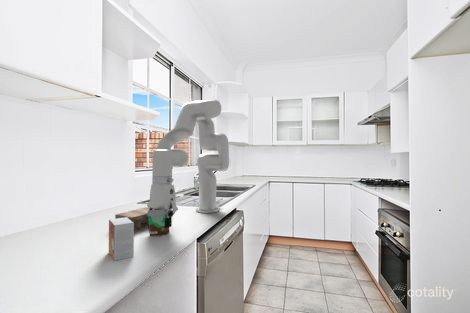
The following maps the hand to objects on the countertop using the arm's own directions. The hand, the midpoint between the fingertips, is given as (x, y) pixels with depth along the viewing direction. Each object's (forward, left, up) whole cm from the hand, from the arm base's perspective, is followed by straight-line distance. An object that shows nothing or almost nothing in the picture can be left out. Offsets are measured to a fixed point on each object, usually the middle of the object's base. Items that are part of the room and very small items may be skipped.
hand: (161, 225), depth 97 cm
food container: (0, +1, -3) cm, 3 cm away
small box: (+22, +4, -3) cm, 22 cm away
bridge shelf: (-2, -15, -3) cm, 15 cm away
